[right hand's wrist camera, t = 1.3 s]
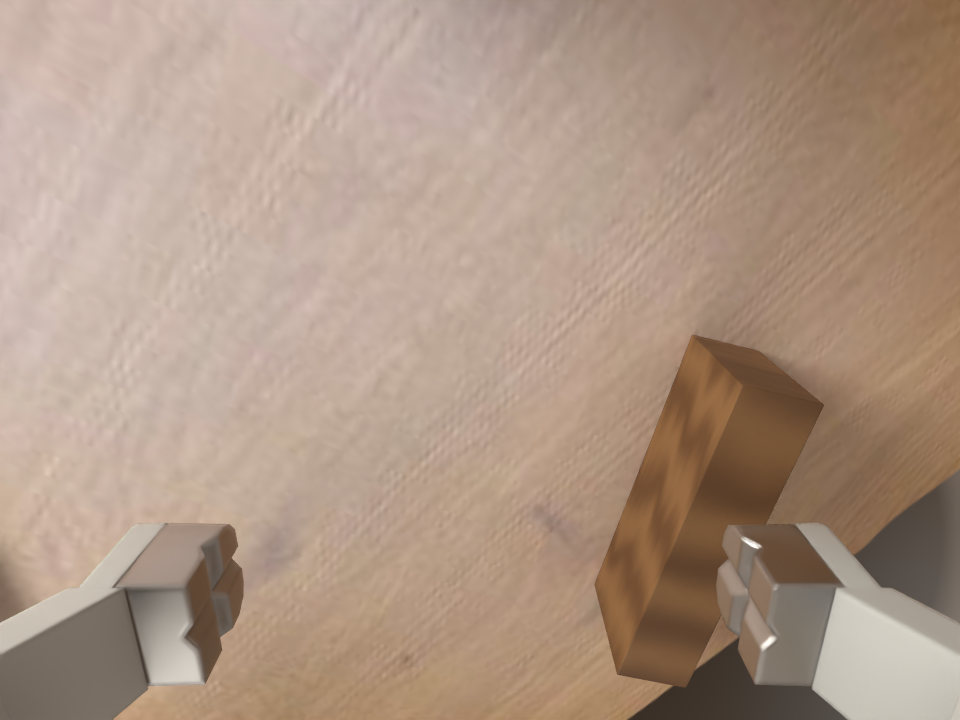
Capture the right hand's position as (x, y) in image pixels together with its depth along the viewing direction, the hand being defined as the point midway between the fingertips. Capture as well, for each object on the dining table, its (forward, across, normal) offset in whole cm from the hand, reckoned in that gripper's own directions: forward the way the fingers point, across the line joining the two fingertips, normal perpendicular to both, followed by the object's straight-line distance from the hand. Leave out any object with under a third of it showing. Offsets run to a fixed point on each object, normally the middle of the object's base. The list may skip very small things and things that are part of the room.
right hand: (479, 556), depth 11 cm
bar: (+35, +15, -19) cm, 43 cm away
